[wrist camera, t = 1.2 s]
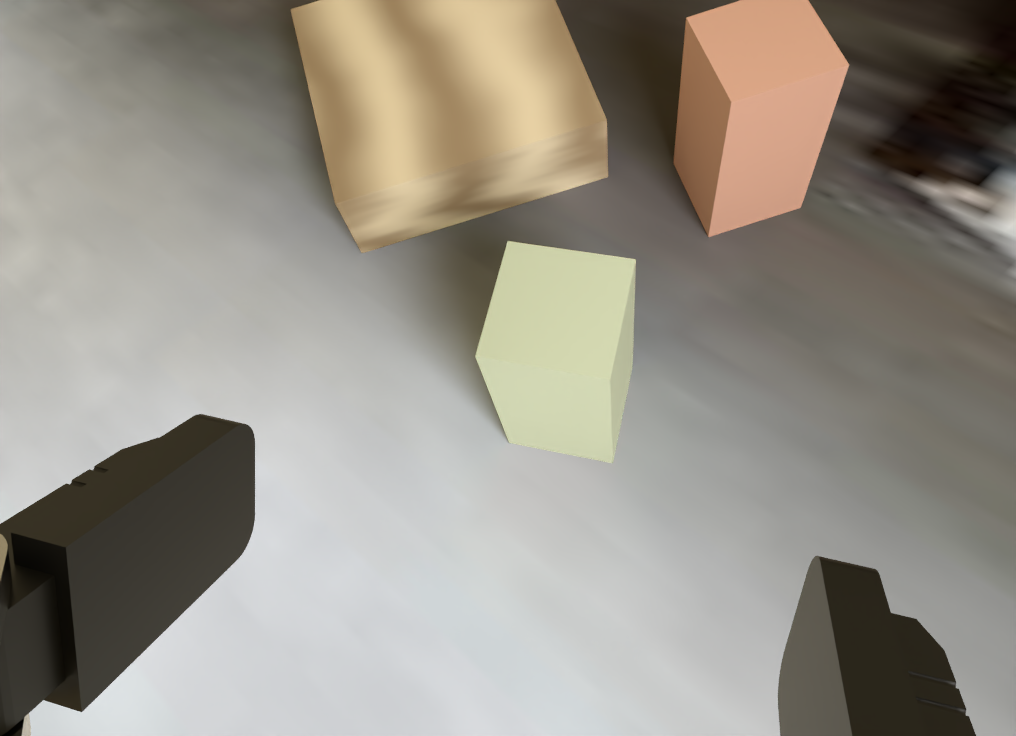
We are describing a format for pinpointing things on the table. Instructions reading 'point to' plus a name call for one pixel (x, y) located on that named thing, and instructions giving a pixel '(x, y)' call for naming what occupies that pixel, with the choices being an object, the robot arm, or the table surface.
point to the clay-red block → (753, 108)
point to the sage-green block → (560, 348)
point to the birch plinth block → (446, 109)
